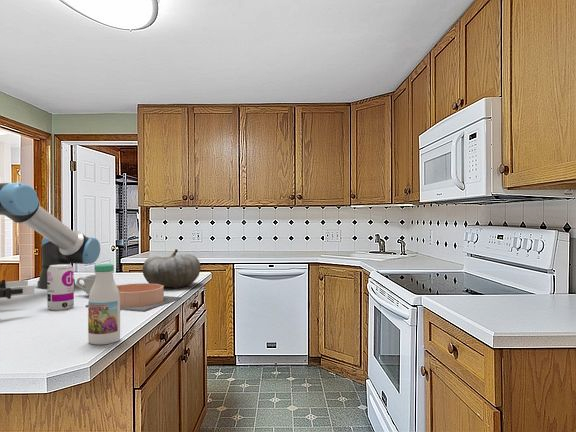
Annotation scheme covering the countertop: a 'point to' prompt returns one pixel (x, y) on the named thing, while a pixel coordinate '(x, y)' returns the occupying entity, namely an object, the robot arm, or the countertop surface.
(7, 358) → the countertop surface
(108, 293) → the milk bottle
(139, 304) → the peach faceted bowl
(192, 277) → the gourd
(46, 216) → the robot arm
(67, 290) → the supplement can
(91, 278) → the teacup
